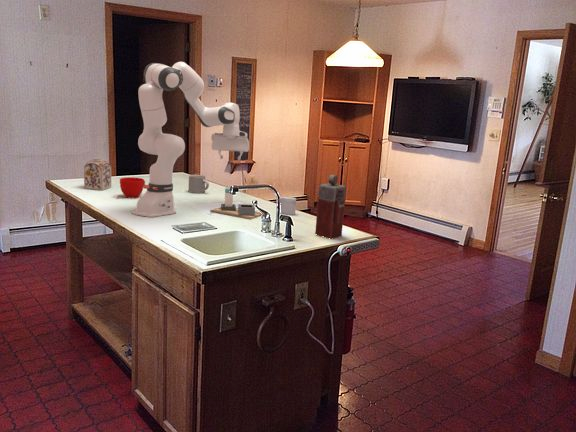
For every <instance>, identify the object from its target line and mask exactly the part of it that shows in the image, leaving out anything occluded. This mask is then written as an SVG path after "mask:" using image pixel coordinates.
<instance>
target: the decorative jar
mask: <svg viewBox="0 0 576 432" xmlns="http://www.w3.org/2000/svg"><path fill="white" fill-rule="evenodd" d="M83 187H84V189H85V190H93V191H105V190H107V189H108V190H109V189H110V188H112V165H111V163H109V161H107V160H103V158H102V157H94V158H93V159H92V160H88V161H86V163H85V165H83Z"/></svg>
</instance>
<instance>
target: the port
mask: <svg viewBox="0 0 576 432" xmlns="http://www.w3.org/2000/svg"><path fill="white" fill-rule="evenodd" d="M237 205H238V206H237V208H238V214H239V215H247V216H255V211H256V207H255V204H247V203H246V204H245V203H243V204H242V203H238V204H237Z"/></svg>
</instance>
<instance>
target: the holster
mask: <svg viewBox="0 0 576 432" xmlns="http://www.w3.org/2000/svg"><path fill="white" fill-rule="evenodd" d="M236 206H237V205H236V203H234V204H233V205H232V207H226V206H225V203H220V207H221V211H236V208H237V207H236Z"/></svg>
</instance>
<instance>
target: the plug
mask: <svg viewBox="0 0 576 432" xmlns="http://www.w3.org/2000/svg"><path fill="white" fill-rule="evenodd" d="M229 188H230V187H225V188H224V204H225V206H226V207H232V205H233V202H234V201H233V200H234V199H233V198H234V194H233V195H231V194H230V192H229Z"/></svg>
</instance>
